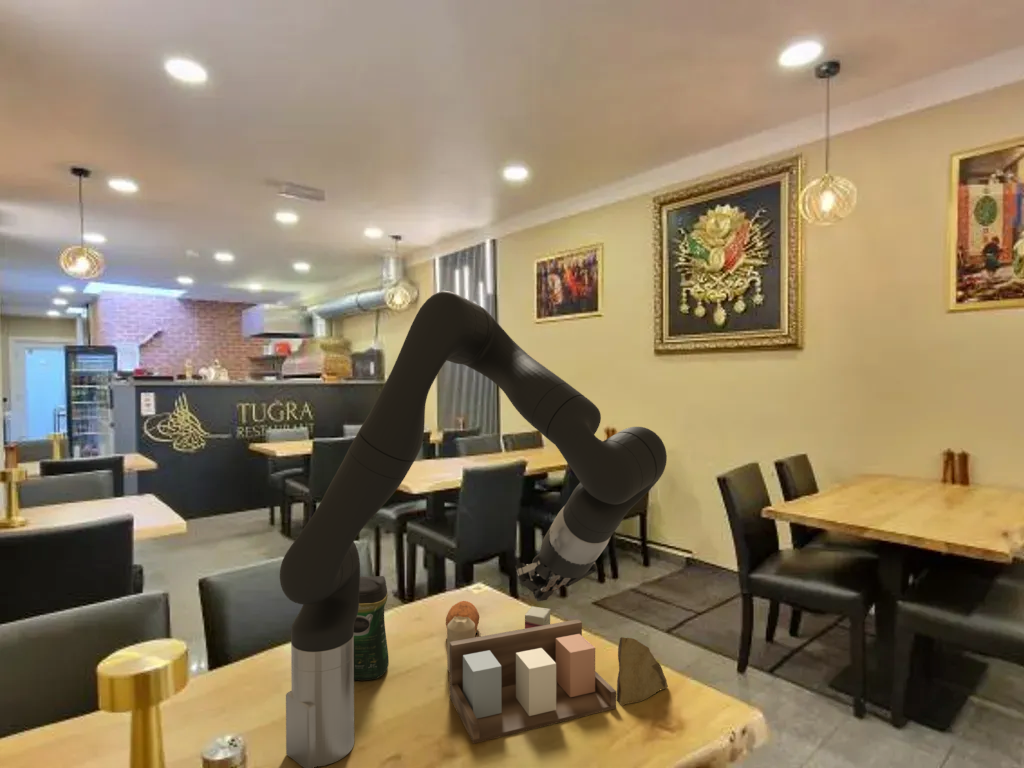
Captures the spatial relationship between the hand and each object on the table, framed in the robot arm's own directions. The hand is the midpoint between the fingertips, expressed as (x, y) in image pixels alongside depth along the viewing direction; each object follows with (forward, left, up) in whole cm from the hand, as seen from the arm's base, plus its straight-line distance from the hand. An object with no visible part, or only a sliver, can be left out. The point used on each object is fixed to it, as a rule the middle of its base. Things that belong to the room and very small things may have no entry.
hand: (539, 594), depth 90 cm
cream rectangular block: (+8, +7, -24) cm, 26 cm away
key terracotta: (+17, +4, -24) cm, 30 cm away
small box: (+26, +19, -24) cm, 40 cm away
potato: (+21, +36, -24) cm, 48 cm away
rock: (+24, -6, -24) cm, 35 cm away
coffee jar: (-3, +40, -24) cm, 47 cm away
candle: (+10, +26, -24) cm, 37 cm away
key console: (+9, +8, -24) cm, 27 cm away
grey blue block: (+2, +13, -24) cm, 27 cm away
